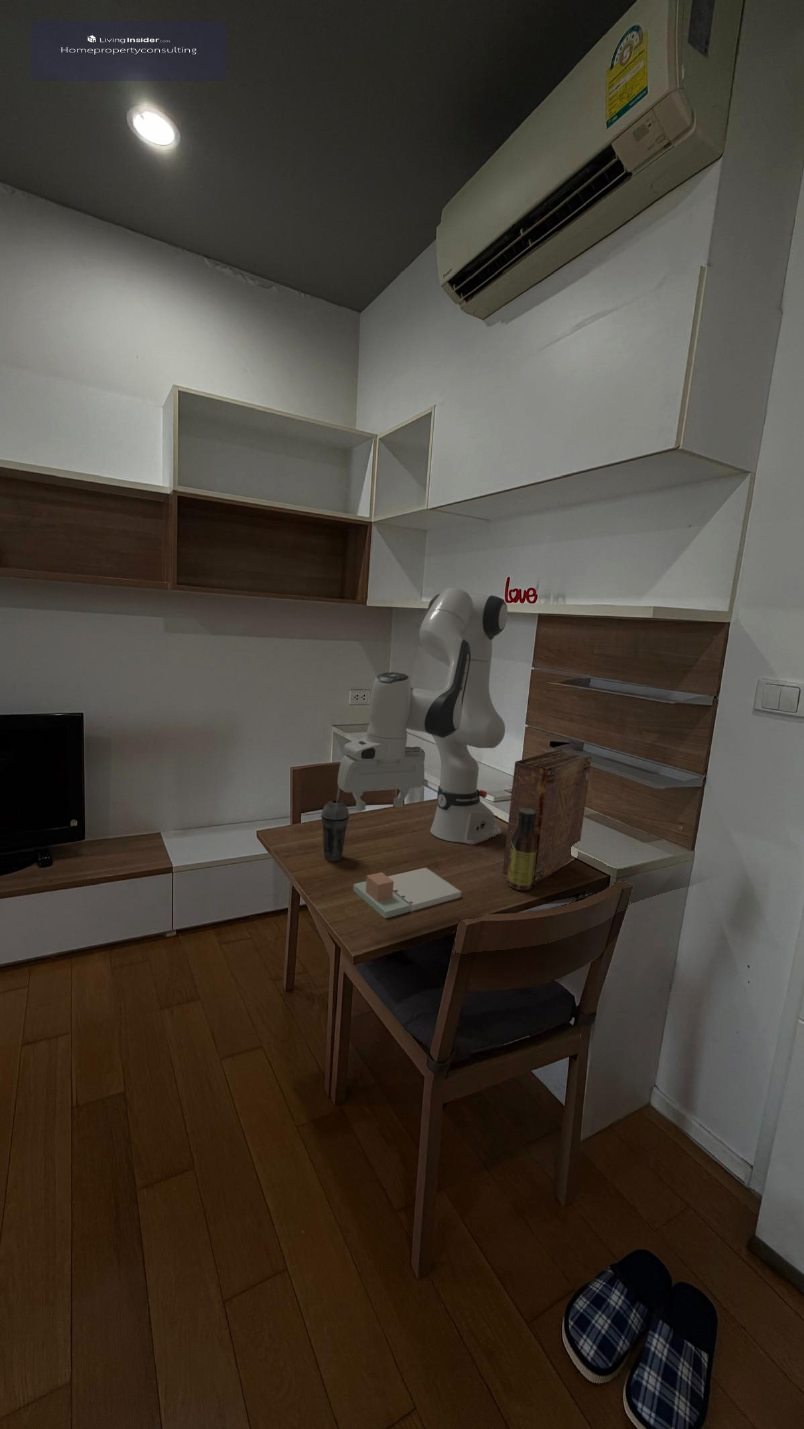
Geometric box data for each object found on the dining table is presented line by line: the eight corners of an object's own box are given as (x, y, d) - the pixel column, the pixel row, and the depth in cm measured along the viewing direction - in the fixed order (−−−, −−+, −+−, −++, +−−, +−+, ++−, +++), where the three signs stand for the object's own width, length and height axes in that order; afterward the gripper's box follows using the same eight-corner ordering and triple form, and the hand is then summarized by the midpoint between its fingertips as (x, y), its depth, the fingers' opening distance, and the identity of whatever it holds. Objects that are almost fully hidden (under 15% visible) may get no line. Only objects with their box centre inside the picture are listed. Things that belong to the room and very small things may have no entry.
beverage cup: (313, 858, 149) (316, 785, 146) (329, 849, 155) (333, 778, 152) (336, 866, 146) (340, 790, 142) (352, 856, 152) (356, 784, 149)
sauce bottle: (514, 877, 147) (523, 803, 143) (536, 886, 143) (546, 810, 139) (501, 885, 142) (510, 809, 138) (524, 895, 138) (534, 816, 134)
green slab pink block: (376, 884, 137) (377, 863, 136) (409, 911, 126) (411, 888, 125) (353, 890, 134) (354, 868, 133) (384, 918, 122) (386, 894, 121)
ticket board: (425, 873, 146) (425, 867, 145) (460, 897, 134) (461, 891, 134) (378, 884, 138) (378, 878, 137) (411, 911, 126) (412, 904, 126)
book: (548, 847, 168) (561, 748, 163) (578, 858, 162) (592, 755, 157) (502, 872, 149) (514, 761, 144) (533, 885, 143) (548, 770, 138)
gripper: (418, 743, 133) (412, 800, 135) (337, 745, 122) (332, 807, 124) (433, 749, 127) (426, 809, 130) (350, 752, 117) (344, 816, 119)
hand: (379, 808), depth 127 cm, fingers open, 8 cm apart
